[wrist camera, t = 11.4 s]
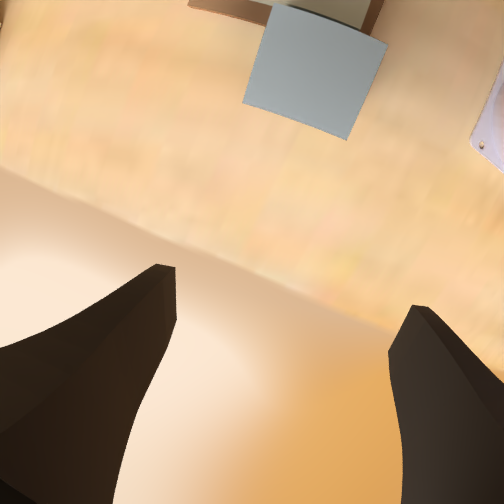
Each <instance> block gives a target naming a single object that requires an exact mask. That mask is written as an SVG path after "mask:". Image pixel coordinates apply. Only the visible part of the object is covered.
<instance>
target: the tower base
mask: <svg viewBox="0 0 504 504" xmlns="http://www.w3.org/2000/svg"><path fill="white" fill-rule="evenodd" d="M383 3H384V0H371V2H370V4H369V7H368V10H367V13H366V16H365V18H364V21H363V24H362V27H361V29H360V30H359V32H361V33H364V34H366V35H368V36H370V34H371V31H372V29H373V26H374V24H375V22H376V19H377V17H378V15H379V12H380V10H381V7H382V5H383ZM188 6H189V7H191V8H195V9H200V10H204V11H209V12H213V13H218V14H222V15H226V16H230V17H234V18H237V19H241V20H245V21H248V22H252V23H255V24H258V25H262V26H265V27H266V25H267V22H268V19H269V16H270V13H271V10H272V7H273V6H271V5H267V4H263V3H259V2H255V1H250V0H189V2H188Z"/></svg>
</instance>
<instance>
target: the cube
mask: <svg viewBox="0 0 504 504" xmlns="http://www.w3.org/2000/svg"><path fill="white" fill-rule="evenodd" d="M387 47H388V44H385V43H383V42H381V41H379V40H377V39H375V38H373V37H370V36H368V35H366V34H364V33H361V32H359V31H357V30H354V29H352V28H349V27H347V26H344V25H342V24H339V23H337V22H334V21H331V20H328V19H326V18H323V17H320V16H317V15H314V14H311V13H308V12H305V11H302V10H299V9H295V8H292V7H289V6H285V5H282V4H278V3H274V4H273V7H272V10H271V13H270V16H269V19H268V22H267V25H266V28H265V31H264V34H263V37H262V40H261V44H260V47H259V50H258V53H257V56H256V59H255V63H254V66H253V69H252V72H251V76H250V79H249V82H248V85H247V89H246V92H245V96H244V99H243V102H242V103H244V104H247V105H250V106H254V107H257V108H260V109H263V110H266V111H269V112H272V113H275V114H278V115H281V116H284V117H287V118H290V119H292V120H295V121H298V122H301V123H304V124H306V125H309V126H312V127H314V128H317V129H319V130H322V131H324V132H327V133H329V134H332V135H334V136H337V137H339V138H342V139H344V140H347V138H348V136H349V134H350V132H351V130H352V127H353V125H354V123H355V121H356V118H357V116H358V114H359V112H360V109H361V107H362V105H363V103H364V100H365V98H366V96H367V94H368V91H369V89H370V87H371V84H372V82H373V80H374V77H375V75H376V73H377V70H378V68H379V66H380V63H381V61H382V59H383V56H384V54H385V51H386V49H387Z"/></svg>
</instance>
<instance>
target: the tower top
mask: <svg viewBox="0 0 504 504" xmlns="http://www.w3.org/2000/svg"><path fill="white" fill-rule="evenodd" d="M250 1H255V2H259V3H263V4H267V5H271V6H273V4H274V3H278V4H282V5H285V6H289V7H292V8H295V9H299V10H302V11H305V12H308V13H311V14H314V15H317V16H320V17H323V18H326V19H328V20H331V21H334V22H337V23H339V24H342V25H344V26H347V27H349V28H352V29H354V30H357V31H359V30H360V29H361V27H362V24H363V21H364V18H365V16H366V13H367V10H368V7H369V4H370V2H371V0H250Z"/></svg>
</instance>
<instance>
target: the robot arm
mask: <svg viewBox="0 0 504 504" xmlns="http://www.w3.org/2000/svg"><path fill="white" fill-rule="evenodd" d="M481 141H483V143H484V147H483V148H482V149H480V148H479V143H480V142H481ZM469 143H470V145H471V146H472V147H473V148H474V149H475V150H476V151H478V152H479V153H480V154H481V155H482V156H484V157H485V158H486V159H487V160H488V161H489V162H491V163H492V164H493V165H494V166H495V167H496V168H498V169H499V170H500V171H501V172H502V173H503V174H504V58H503V60H502V63H501V66H500V69H499V71H498V74H497V76H496V79H495V81H494V84H493V86H492V89H491V91H490V93H489V96H488V98H487V101H486V103H485V105H484V107H483V110H482V112H481V114H480V116H479V118H478V121H477V123H476V125H475V127H474V129H473V131H472V133H471V135H470V138H469ZM176 320H177V316H176V281H175V267H171V266H166V265H160V264H155V265H153V266H152V267H150V268H148V269H147V270H145V271H144V272H142V273H141V274H139V275H138V276H136V277H135V278H133V279H132V280H130V281H129V282H127V283H126V284H124V285H123V286H121V287H120V288H118V289H117V290H115V291H114V292H112V293H111V294H109V295H108V296H106V297H104V298H103V299H101V300H99V301H98V302H96V303H94V304H93V305H91V306H89V307H88V308H86V309H85V310H83V311H81V312H80V313H78V314H76V315H74V316H73V317H71V318H69V319H67V320H65V321H63V322H61V323H59V324H57V325H55V326H53V327H51V328H49V329H47V330H45V331H43V332H41V333H38V334H35V335H33V336H30V337H28V338H26V339H23V340H21V341H18V342H16V343H13V344H10V345H8V346H5V347H2V348H0V504H113V498H114V493H115V488H116V484H117V480H118V475H119V471H120V467H121V463H122V459H123V456H124V452H125V449H126V445H127V442H128V438H129V435H130V432H131V429H132V426H133V423H134V420H135V417H136V414H137V411H138V409H139V407H140V404H141V402H142V400H143V398H144V396H145V393H146V391H147V389H148V387H149V385H150V383H151V381H152V379H153V377H154V374H155V372H156V370H157V368H158V366H159V364H160V362H161V360H162V358H163V356H164V354H165V351H166V349H167V347H168V344H169V341H170V338H171V335H172V332H173V329H174V326H175V323H176ZM388 356H389V370H390V380H391V386H392V390H393V396H394V401H395V406H396V412H397V417H398V423H399V428H400V434H401V442H402V453H403V454H402V455H403V481H402V498H401V504H504V383H503V382H502V381H501V380H499V379H498V378H497V377H496V376H495V375H494V374H493V373H492V372H491V371H490V370H489V369H488V368H487V367H486V366H485V365H484V364H483V363H482V361H481V360H480V359H479V358H478V357H477V356H476V355H475V354H474V353H473V352H472V351H471V350H470V349H469V348H468V347H467V345H466V344H465V343H464V342H463V341H462V340H461V339H460V338H459V337H458V336H457V335H456V334H455V333H454V332H453V330H452V329H451V328H450V327H449V326H448V325H447V324H446V323H445V322H444V321H443V320H442V319H441V318H440V317H439V316H438V315H437V314H436V313H435V312H434V311H432V310H431V309H430V308H429V307H425V306H417V305H412V306H411V308H410V310H409V312H408V314H407V316H406V318H405V320H404V322H403V324H402V326H401V328H400V330H399V332H398V334H397V336H396V338H395V340H394V341H393V344H392V345H391V347H390V349H389V351H388Z"/></svg>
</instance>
